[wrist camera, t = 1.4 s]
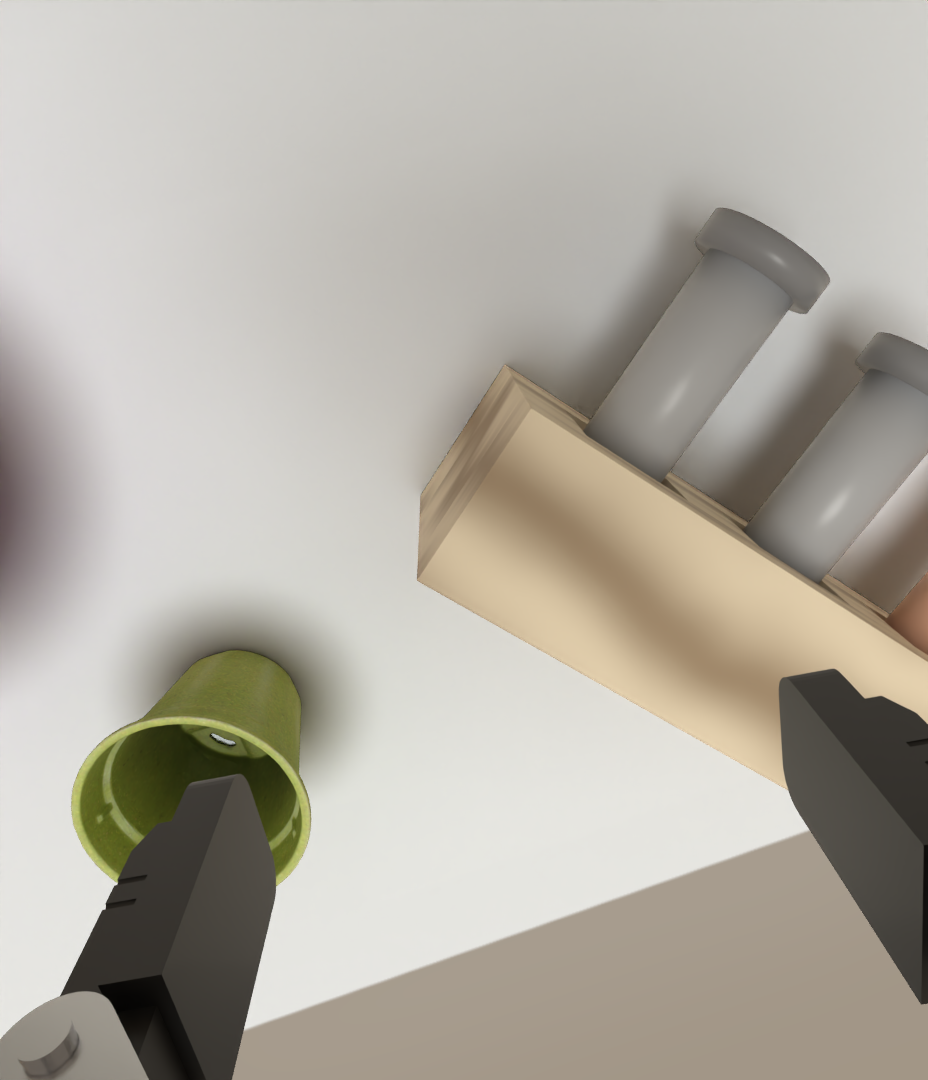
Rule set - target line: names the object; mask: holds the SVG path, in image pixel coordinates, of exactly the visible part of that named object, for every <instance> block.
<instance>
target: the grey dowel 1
mask: <svg viewBox="0 0 928 1080" xmlns="http://www.w3.org/2000/svg"><path fill="white" fill-rule="evenodd" d="M694 242H695V245H696V247H697V248H698V249H699V250H700V251H701V253H702V254H703V255H704V256H703V258H702V259H701V261H700V262H699V264H698V265H697V266H696V268H695V269H694V271H693V272H692V274H691V275H690V277H689V278H688V280H687V281H686V282H685V284H684V285H683V287H682V288H681V290H680V291H679V293H678V294H677V295H676V297H675V298H674V300H673V301H672V303H671V304H670V306H669V307H668V309H667V310H666V311H665V313H664V314H663V316H662V317H661V319H660V320H659V322H658V323H657V324H656V326H655V327H654V329H653V330H652V332H651V333H650V335H649V336H648V338H647V339H646V340H645V342H644V343H643V345H642V346H641V348H640V349H639V351H638V352H637V353H636V355H635V356H634V358H633V359H632V361H631V362H630V364H629V365H628V367H627V368H626V369H625V371H624V372H623V374H622V375H621V377H620V378H619V380H618V381H617V382H616V384H615V385H614V387H613V388H612V390H611V391H610V393H609V394H608V396H607V397H606V398H605V400H604V401H603V403H602V404H601V406H600V407H599V409H598V410H597V411H596V413H595V414H594V416H593V417H592V419H591V420H590V422H589V423H588V424H587V426H586V427H585V429H584V430H583V432H584V433H585V434H586V436H588V437H589V438H591V439H593V440H594V441H596V442H597V443H599V444H600V445H602V446H603V447H605V448H607V449H608V450H610V451H611V452H613V453H614V454H616V455H617V456H619V457H621V458H622V459H624V460H625V461H627V462H628V463H630V464H631V465H633V466H635V467H636V468H638V469H639V470H641V471H642V472H644V473H645V474H647V475H649V476H650V477H652V478H653V479H655V480H656V481H658V482H659V483H661V482H662V481H663V480H664V478H665V477H666V475H667V474H668V473H669V471H670V470H671V469H672V467H673V466H674V465H675V463H676V462H677V461H678V459H679V458H680V456H681V455H682V454H683V452H684V451H685V450H686V448H687V447H688V446H689V444H690V443H691V442H692V440H693V439H694V437H695V436H696V435H697V433H698V432H699V431H700V429H701V428H702V427H703V425H704V424H705V422H706V421H707V420H708V418H709V417H710V416H711V414H712V413H713V412H714V410H715V409H716V408H717V406H718V405H719V403H720V402H721V401H722V399H723V398H724V397H725V395H726V394H727V393H728V391H729V390H730V389H731V387H732V386H733V384H734V383H735V382H736V380H737V379H738V378H739V376H740V375H741V374H742V372H743V371H744V369H745V368H746V367H747V365H748V364H749V363H750V361H751V360H752V359H753V357H754V356H755V355H756V353H757V352H758V350H759V349H760V348H761V346H762V345H763V344H764V342H765V341H766V340H767V338H768V337H769V336H770V334H771V333H772V331H773V330H774V329H775V327H776V326H777V325H778V323H779V322H780V321H781V319H782V318H783V316H784V315H785V314H786V312H787V311H788V310H790V311H793V312H796V313H800V314H806V313H808V311H809V310H810V309H811V307H812V306H813V305H814V303H815V302H816V301H817V299H818V298H819V296H820V295H821V294H822V292H823V291H824V290H825V288H826V287H827V286H828V284H829V283H830V278H829V275H828V274H827V272H826V271H825V270H824V269H823V267H822V266H821V265H820V264H819V263H818V262H817V261H816V260H815V259H813V258H812V257H811V256H810V255H809V254H808V253H806V252H805V251H804V250H803V249H801V248H800V247H799V246H797V245H796V244H795V243H793V242H792V241H790V240H789V239H787V238H786V237H785V236H783V235H781V234H780V233H778V232H777V231H775V230H773V229H772V228H770V227H768V226H766V225H765V224H763V223H761V222H759V221H757V220H755V219H753V218H751V217H749V216H747V215H745V214H742V213H740V212H737V211H734V210H731V209H727V208H717V209H716V210H715V211H714V212H713V214H712V215H711V217H710V218H709V220H708V221H707V223H706V224H705V226H704V227H703V228H702V230H701V231H700V233H699V234H698V236H697V237H696V239H695V241H694Z"/></svg>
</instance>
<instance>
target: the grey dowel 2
mask: <svg viewBox="0 0 928 1080" xmlns="http://www.w3.org/2000/svg"><path fill="white" fill-rule="evenodd" d="M855 363H856V365H857V366H858V367H859V368H860V369H861V370H862V371H863V372H864V373H865V375H864V376H863V378H862V379H861V380H860V381H859V383H858V384H857V385H856V387H855V388H854V389H853V390H852V392H851V393H850V394H849V395H848V397H847V398H846V399H845V401H844V402H843V403H842V404H841V406H840V407H839V408H838V410H837V411H836V412H835V413H834V415H833V416H832V417H831V418H830V420H829V421H828V422H827V424H826V425H825V426H824V427H823V429H822V430H821V431H820V432H819V434H818V435H817V436H816V438H815V439H814V440H813V441H812V443H811V444H810V445H809V447H808V448H807V449H806V450H805V452H804V453H803V454H802V455H801V457H800V458H799V459H798V461H797V462H796V463H795V464H794V466H793V467H792V468H791V469H790V471H789V472H788V473H787V475H786V476H785V477H784V478H783V480H782V481H781V482H780V484H779V485H778V486H777V487H776V489H775V490H774V491H773V492H772V494H771V495H770V496H769V498H768V499H767V500H766V501H765V503H764V504H763V505H762V506H761V508H760V509H759V510H758V512H757V513H756V514H755V515H754V517H753V518H752V519H751V521H750V522H749V523H748V524H747V526H746V527H745V528H744V529H743V532H744V533H745V534H746V535H747V536H748V537H749V538H751V539H752V540H753V541H754V542H755V543H756V544H757V545H758V546H759V547H761V548H762V549H764V550H765V551H767V552H768V553H770V554H771V555H773V556H775V557H776V558H778V559H779V560H781V561H782V562H784V563H785V564H787V565H789V566H790V567H792V568H793V569H795V570H796V571H798V572H799V573H801V574H803V575H804V576H806V577H807V578H809V579H810V580H812V581H813V582H815V583H817V584H819V583H820V582H821V580H822V579H823V578H824V577H825V576H826V574H827V573H828V572H829V571H830V570H831V568H832V567H833V566H834V565H835V564H836V562H837V561H838V560H839V559H840V558H841V556H842V555H843V554H844V553H845V552H846V550H847V549H848V548H849V547H850V546H851V544H852V543H853V542H854V541H855V540H856V538H857V537H858V536H859V535H860V534H861V532H862V531H863V530H864V529H865V528H866V526H867V525H868V524H869V523H870V522H871V520H872V519H873V518H874V517H875V516H876V514H877V513H878V512H879V511H880V510H881V508H882V507H883V506H884V505H885V504H886V502H887V501H888V500H889V499H890V498H891V496H892V495H893V494H894V493H895V492H896V490H897V489H898V488H899V487H900V486H901V484H902V483H903V482H904V481H905V480H906V478H907V477H908V476H909V475H910V474H911V472H912V471H913V470H914V469H915V468H916V466H917V465H918V464H919V463H920V462H921V460H922V459H923V458H924V457H925V456H926V454H927V453H928V350H927V349H925V348H923V347H921V346H919V345H917V344H915V343H913V342H911V341H908V340H906V339H903V338H901V337H898V336H895V335H892V334H888V333H883V332H879V333H877V334H876V335H875V336H874V338H873V339H872V340H871V341H870V343H869V344H868V345H867V347H866V348H865V349H864V350H863V352H862V353H861V354H860V356H859V357H858V358H857V360H856V361H855Z"/></svg>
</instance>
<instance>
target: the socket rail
mask: <svg viewBox="0 0 928 1080" xmlns="http://www.w3.org/2000/svg"><path fill="white" fill-rule="evenodd" d="M589 422H590V419H588V418H587V417H585V416H584V415H582V414H581V413H579V412H578V411H576V410H574V409H573V408H571V407H570V406H568V405H567V404H565V403H564V402H562V401H561V400H559V399H557V398H556V397H554V396H553V395H551V394H550V393H548V392H547V391H545V390H544V389H542V388H541V387H539V386H537V385H536V384H534V383H533V382H531V381H530V380H528V379H527V378H525V377H524V376H522V375H520V374H519V373H517V372H516V371H514V370H513V369H511V368H510V367H508V366H507V365H504V366H503V368H502V370H501V371H500V373H499V374H498V376H497V377H496V379H495V381H494V382H493V384H492V385H491V387H490V388H489V390H488V391H487V393H486V395H485V396H484V398H483V399H482V401H481V402H480V404H479V405H478V407H477V409H476V410H475V412H474V413H473V415H472V416H471V418H470V419H469V421H468V423H467V424H466V426H465V427H464V429H463V430H462V432H461V433H460V435H459V437H458V438H457V440H456V441H455V443H454V444H453V446H452V447H451V449H450V451H449V452H448V454H447V455H446V457H445V458H444V460H443V462H442V463H441V465H440V466H439V468H438V469H437V471H436V472H435V474H434V476H433V477H432V479H431V480H430V482H429V483H428V485H427V486H426V488H425V490H424V491H423V493H422V494H421V498H420V522H419V545H418V569H417V581H419V582H420V583H422V584H424V585H426V586H427V587H429V588H431V589H433V590H434V591H436V592H438V593H440V594H442V595H443V596H445V597H447V598H449V599H450V600H452V601H454V602H456V603H457V604H459V605H461V606H463V607H465V608H466V609H468V610H470V611H472V612H473V613H475V614H477V615H479V616H480V617H482V618H484V619H486V620H488V621H489V622H491V623H493V624H495V625H496V626H498V627H500V628H502V629H503V630H505V631H507V632H509V633H511V634H512V635H514V636H516V637H518V638H519V639H521V640H523V641H525V642H526V643H528V644H530V645H532V646H534V647H535V648H537V649H539V650H541V651H542V652H544V653H546V654H548V655H549V656H551V657H553V658H555V659H557V660H558V661H560V662H562V663H564V664H565V665H567V666H569V667H571V668H572V669H574V670H576V671H578V672H580V673H581V674H583V675H585V676H587V677H588V678H590V679H592V680H594V681H595V682H597V683H599V684H601V685H603V686H604V687H606V688H608V689H610V690H611V691H613V692H615V693H617V694H618V695H620V696H622V697H624V698H626V699H627V700H629V701H631V702H633V703H634V704H636V705H638V706H640V707H641V708H643V709H645V710H647V711H649V712H650V713H652V714H654V715H656V716H657V717H659V718H661V719H663V720H664V721H666V722H668V723H670V724H672V725H673V726H675V727H677V728H679V729H680V730H682V731H684V732H686V733H687V734H689V735H691V736H693V737H695V738H696V739H698V740H700V741H702V742H703V743H705V744H707V745H709V746H710V747H712V748H714V749H716V750H718V751H719V752H721V753H723V754H725V755H726V756H728V757H730V758H732V759H733V760H735V761H737V762H739V763H741V764H742V765H744V766H746V767H748V768H749V769H751V770H753V771H755V772H756V773H758V774H760V775H762V776H764V777H765V778H767V779H769V780H771V781H772V782H774V783H776V784H778V785H779V786H781V787H783V788H785V789H787V790H788V787H787V784H786V780H785V776H784V770H783V760H782V743H781V725H780V708H779V683H780V680H781V679H782V678H783V677H788V676H794V675H800V674H805V673H811V672H816V671H822V670H827V669H836V670H838V671H839V672H840V673H841V674H842V675H843V676H844V677H845V678H846V679H847V680H848V681H849V682H850V683H851V684H852V685H853V687H854V688H855V689H856V690H857V691H858V692H859V693H860V694H861V695H862V696H863V697H864V698H865V699H866V698H871V697H877V696H883V697H885V698H887V699H889V700H891V701H893V702H895V703H897V704H899V705H901V706H903V707H905V708H907V709H910V710H912V711H914V712H916V713H917V714H918V715H919V716H920V717H921V718H922V719H923V720H924V721H925V722H926V723H927V724H928V655H927V654H925V653H924V652H922V651H921V650H919V649H918V648H916V647H914V646H913V645H912V644H911V643H910V642H908V641H907V640H906V639H905V638H904V637H902V636H901V635H900V634H899V633H898V632H896V631H895V630H894V629H893V628H892V627H891V626H889V625H888V624H887V623H886V622H885V620H886V619H887V618H888V616H889V615H890V614H889V613H887V612H886V611H884V610H883V609H881V608H880V607H878V606H876V605H875V604H873V603H872V602H870V601H869V600H867V599H866V598H864V597H863V596H861V595H859V594H858V593H856V592H855V591H853V590H852V589H850V588H849V587H847V586H846V585H844V584H843V583H841V582H839V581H838V580H836V579H835V578H833V577H832V576H830V575H829V574H826V576H825V577H824V578H823V579H822V580H821V582H820V583H819V584H817V583H815V582H813V581H812V580H810V579H809V578H807V577H806V576H804V575H803V574H801V573H799V572H798V571H796V570H795V569H793V568H792V567H790V566H789V565H787V564H785V563H784V562H782V561H781V560H779V559H778V558H776V557H775V556H773V555H771V554H770V553H768V552H767V551H765V550H764V549H762V548H761V547H759V546H758V545H757V544H756V543H755V542H754V541H753V540H752V539H751V538H749V537H748V536H747V535H746V534H745V533H744V532H743V529H744V528H745V527H746V526H747V524H748V523H749V522H747V521H745V520H744V519H742V518H741V517H739V516H738V515H736V514H735V513H733V512H732V511H730V510H729V509H727V508H725V507H724V506H722V505H721V504H719V503H718V502H716V501H715V500H713V499H712V498H710V497H708V496H707V495H705V494H704V493H702V492H701V491H699V490H698V489H696V488H695V487H693V486H692V485H690V484H688V483H687V482H685V481H684V480H682V479H681V478H679V477H678V476H676V475H675V474H673V473H671V472H670V471H669V473H668V474H667V475H666V477H665V478H664V480H663V481H662V482H661V483H659V482H658V481H656V480H655V479H653V478H652V477H650V476H649V475H647V474H645V473H644V472H642V471H641V470H639V469H638V468H636V467H635V466H633V465H631V464H630V463H628V462H627V461H625V460H624V459H622V458H621V457H619V456H617V455H616V454H614V453H613V452H611V451H610V450H608V449H607V448H605V447H603V446H602V445H600V444H599V443H597V442H596V441H594V440H593V439H591V438H589V437H588V436H586V434H585V433H584V432H583V430H584V429H585V427H586V426H587V424H588V423H589Z"/></svg>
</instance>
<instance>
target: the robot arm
mask: <svg viewBox="0 0 928 1080" xmlns="http://www.w3.org/2000/svg"><path fill="white" fill-rule="evenodd" d="M779 708H780V725H781V743H782V760H783V770H784V776H785V780H786V784H787V787H788V791H789V793H790V796H791V799H792V801H793V803H794V805H795V807H796V809H797V811H798V812H799V814H800V816H801V817H802V819H803V820H804V822H805V823H806V825H807V826H808V828H809V830H810V831H811V833H812V834H813V836H814V837H815V839H816V841H817V842H818V844H819V845H820V847H821V848H822V850H823V852H824V853H825V855H826V856H827V858H828V859H829V861H830V862H831V864H832V866H833V867H834V869H835V870H836V872H837V873H838V875H839V877H840V878H841V880H842V881H843V883H844V884H845V886H846V888H847V889H848V891H849V892H850V894H851V895H852V897H853V898H854V900H855V902H856V903H857V905H858V906H859V908H860V909H861V911H862V913H863V914H864V916H865V917H866V919H867V920H868V922H869V924H870V925H871V927H872V928H873V930H874V931H875V933H876V935H877V936H878V938H879V939H880V941H881V942H882V944H883V945H884V947H885V948H886V950H887V952H888V953H889V955H890V956H891V958H892V960H893V961H894V963H895V964H896V966H897V967H898V969H899V970H900V972H901V974H902V975H903V977H904V978H905V980H906V981H907V983H908V985H909V986H910V988H911V989H912V991H913V992H914V994H915V996H916V997H917V999H918V1000H919V1002H920V1003H921V1004H927V1003H928V724H927V723H926V722H925V721H924V720H923V719H922V718H921V717H920V716H919V715H918V714H917V713H916V712H914V711H912V710H910V709H907V708H905V707H903V706H901V705H899V704H897V703H895V702H893V701H891V700H889V699H887V698H885V697H883V696H877V697H871V698H866V699H865V698H864V697H863V696H862V695H861V694H860V693H859V692H858V691H857V690H856V689H855V688H854V687H853V685H852V684H851V683H850V682H849V681H848V680H847V679H846V678H845V677H844V676H843V675H842V674H841V673H840V672H839V671H838V670H836V669H827V670H822V671H816V672H811V673H805V674H800V675H794V676H788V677H783V678H782V679H781V680H780V683H779ZM117 880H118V885H115V886H114V888H113V890H112V892H111V894H110V896H109V898H108V900H107V902H106V910H102V912H101V914H100V916H99V918H98V920H97V922H96V924H95V926H94V928H93V930H92V932H91V934H90V936H89V938H88V941H87V943H86V945H85V947H84V949H83V951H82V953H81V955H80V957H79V959H78V961H77V963H76V965H75V967H74V969H73V971H72V973H71V975H70V977H69V979H68V981H67V983H66V985H65V987H64V989H63V991H62V993H61V995H60V997H57V998H55V999H53V1000H50V1001H48V1002H46V1003H44V1004H43V1005H41V1006H39V1007H37V1008H36V1009H34V1010H33V1011H31V1012H30V1013H28V1014H27V1015H26V1016H24V1017H23V1018H22V1019H21V1020H19V1021H18V1022H17V1023H16V1024H15V1025H14V1026H13V1027H12V1028H11V1029H10V1030H9V1031H8V1032H7V1033H6V1034H5V1035H4V1036H3V1037H2V1038H1V1039H0V1080H232V1076H233V1072H234V1068H235V1064H236V1060H237V1055H238V1051H239V1047H240V1043H241V1038H242V1034H243V1030H244V1026H245V1022H246V1018H247V1014H248V1009H249V1005H250V1001H251V997H252V993H253V988H254V984H255V980H256V976H257V972H258V967H259V963H260V959H261V955H262V951H263V947H264V942H265V938H266V934H267V930H268V926H269V921H270V917H271V913H272V909H273V905H274V900H275V894H276V872H275V864H274V859H273V855H272V852H271V849H270V846H269V843H268V840H267V837H266V834H265V831H264V828H263V825H262V822H261V819H260V816H259V813H258V810H257V807H256V804H255V801H254V798H253V795H252V792H251V789H250V786H249V784H248V782H247V780H246V778H245V777H244V776H243V775H241V774H236V775H231V776H225V777H220V778H214V779H208V780H203V781H197V782H192V783H190V784H189V785H188V786H187V788H186V790H185V792H184V794H183V797H182V799H181V801H180V803H179V805H178V808H177V810H176V812H175V814H174V817H173V819H172V821H169V822H163V823H158V824H157V825H156V826H155V827H154V828H153V829H152V830H151V831H150V832H149V833H148V834H147V835H146V836H145V837H144V838H143V839H142V840H141V841H140V843H139V844H138V845H137V846H136V847H135V848H134V849H133V850H132V851H131V853H130V855H129V857H128V859H127V861H126V863H125V865H124V867H123V869H122V871H121V873H120V875H119V877H118V879H117Z"/></svg>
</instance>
